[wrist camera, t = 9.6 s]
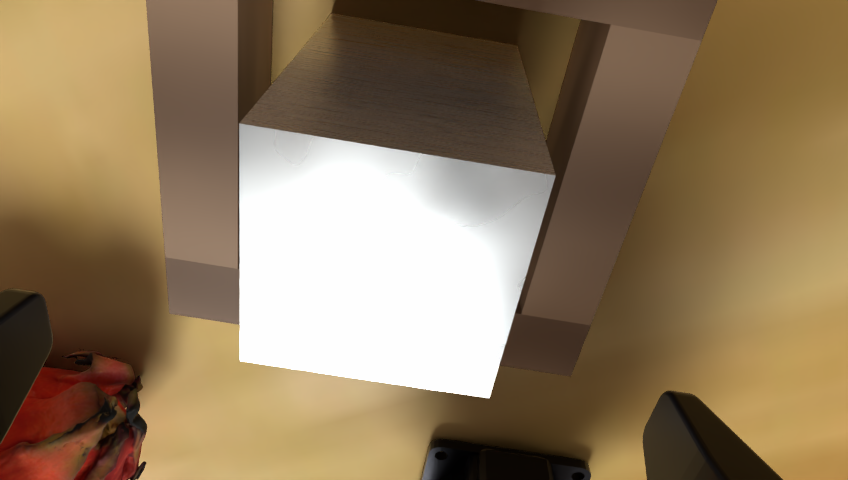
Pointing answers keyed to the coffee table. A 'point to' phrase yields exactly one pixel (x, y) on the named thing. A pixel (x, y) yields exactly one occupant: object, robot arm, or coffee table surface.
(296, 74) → the rectangular block
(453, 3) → the coffee table surface
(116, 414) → the dragon fruit
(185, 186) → the well block
